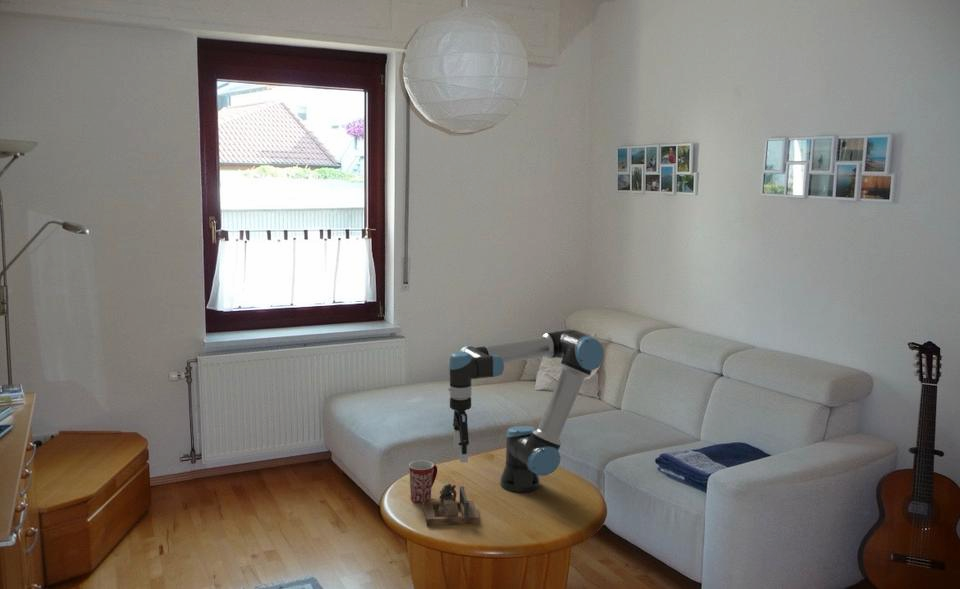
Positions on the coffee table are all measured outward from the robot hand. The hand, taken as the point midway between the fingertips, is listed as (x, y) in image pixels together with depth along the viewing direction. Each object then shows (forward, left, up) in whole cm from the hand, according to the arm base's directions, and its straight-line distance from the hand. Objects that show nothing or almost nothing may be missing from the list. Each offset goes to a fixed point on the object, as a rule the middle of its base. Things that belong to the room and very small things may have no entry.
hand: (460, 454), depth 281 cm
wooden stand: (+4, +5, -21) cm, 22 cm away
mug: (+12, -11, -21) cm, 26 cm away
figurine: (+5, +5, -21) cm, 22 cm away
